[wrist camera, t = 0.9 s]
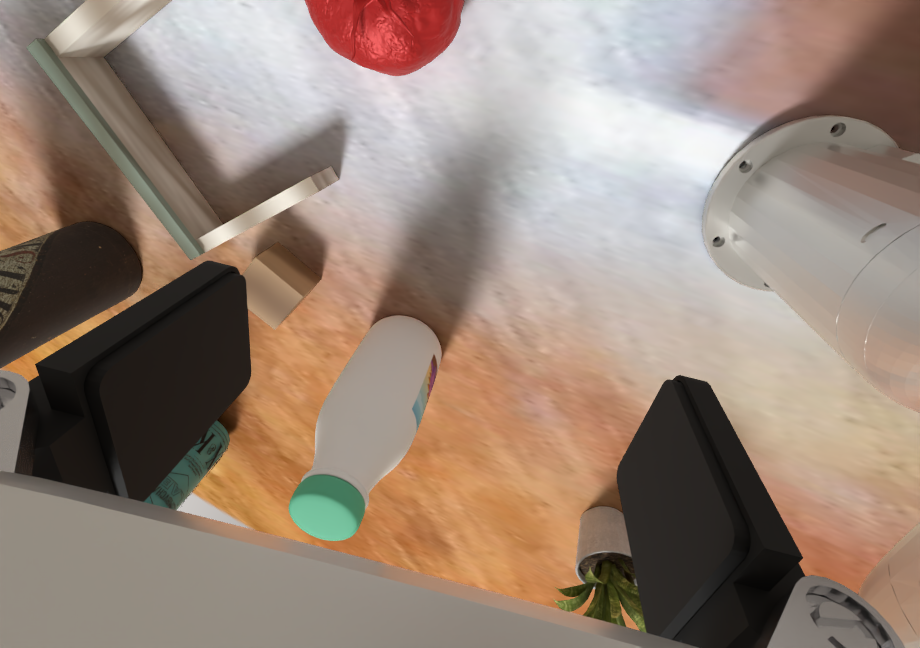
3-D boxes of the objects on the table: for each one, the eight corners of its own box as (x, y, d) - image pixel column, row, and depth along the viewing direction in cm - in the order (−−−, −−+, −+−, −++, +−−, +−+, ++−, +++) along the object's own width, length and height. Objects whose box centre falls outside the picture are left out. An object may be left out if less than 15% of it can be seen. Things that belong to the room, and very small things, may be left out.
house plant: (547, 565, 59) (549, 722, 45) (518, 491, 53) (510, 645, 39) (665, 558, 55) (708, 729, 41) (648, 477, 49) (691, 644, 35)
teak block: (278, 241, 42) (255, 257, 38) (322, 278, 43) (303, 296, 40) (253, 275, 44) (228, 293, 41) (294, 309, 45) (274, 329, 42)
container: (155, 251, 44) (-89, 371, 27) (136, 315, 49) (-84, 453, 31) (69, 199, 43) (-246, 290, 26) (58, 269, 47) (-219, 388, 30)
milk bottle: (351, 338, 46) (238, 503, 29) (406, 298, 43) (315, 457, 25) (403, 389, 48) (326, 571, 31) (459, 355, 45) (408, 537, 28)
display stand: (202, -55, 31) (154, -72, 27) (339, 179, 38) (315, 193, 34) (82, 49, 36) (26, 47, 32) (223, 241, 43) (190, 260, 39)
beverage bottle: (215, 449, 58) (77, 614, 40) (176, 412, 55) (12, 570, 38) (250, 433, 55) (118, 602, 38) (210, 394, 53) (51, 554, 36)
